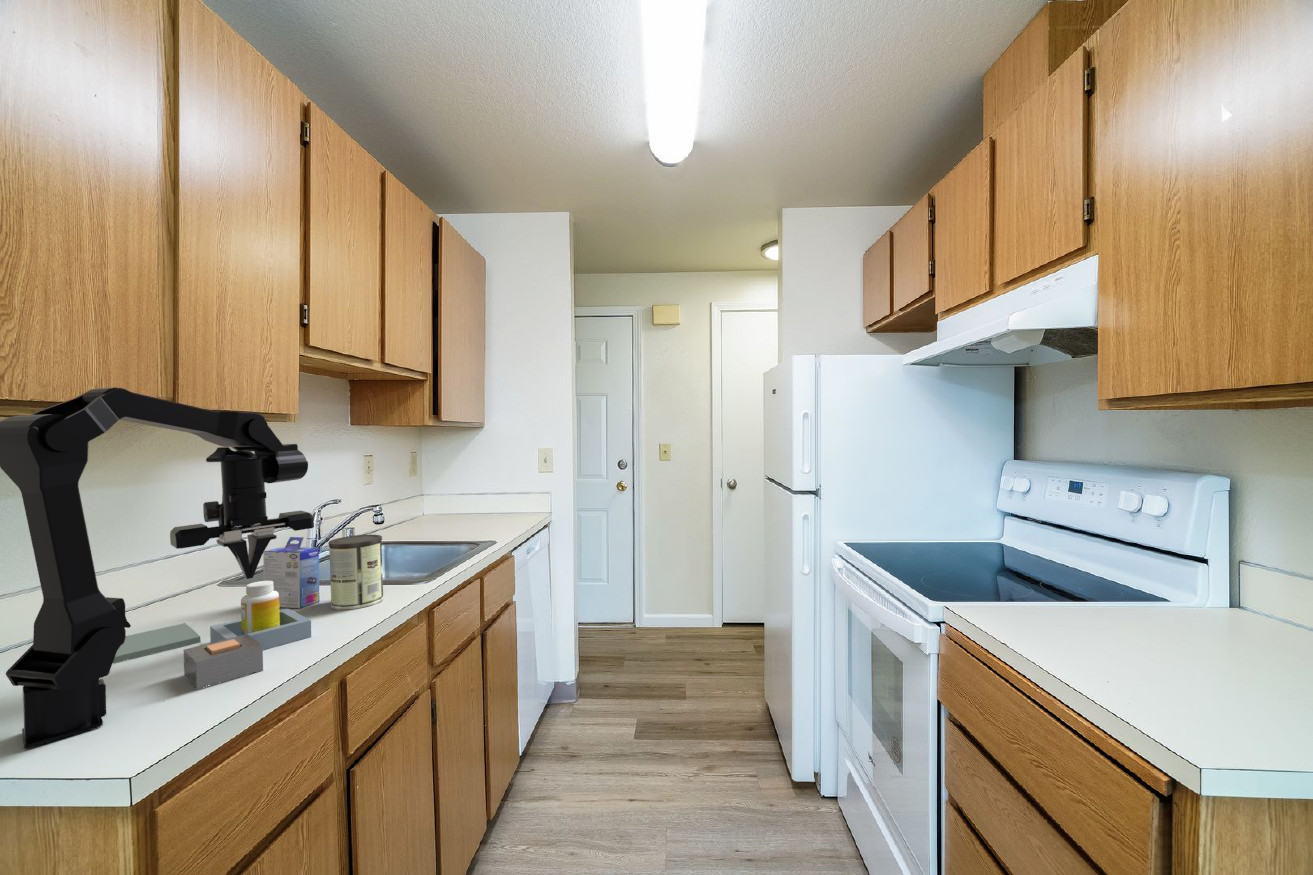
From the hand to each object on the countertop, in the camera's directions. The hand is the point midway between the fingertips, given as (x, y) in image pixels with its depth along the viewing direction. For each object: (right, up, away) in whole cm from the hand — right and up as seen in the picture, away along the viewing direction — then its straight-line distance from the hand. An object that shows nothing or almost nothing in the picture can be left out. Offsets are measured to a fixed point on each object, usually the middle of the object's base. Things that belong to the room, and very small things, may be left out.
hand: (249, 578), depth 91 cm
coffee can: (+4, -13, +27) cm, 30 cm away
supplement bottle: (-2, -13, +6) cm, 14 cm away
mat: (-21, -13, +4) cm, 25 cm away
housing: (-2, -13, +6) cm, 14 cm away
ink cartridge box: (-11, -13, +27) cm, 31 cm away
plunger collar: (+2, -13, -8) cm, 15 cm away
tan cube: (+2, -11, -8) cm, 14 cm away
